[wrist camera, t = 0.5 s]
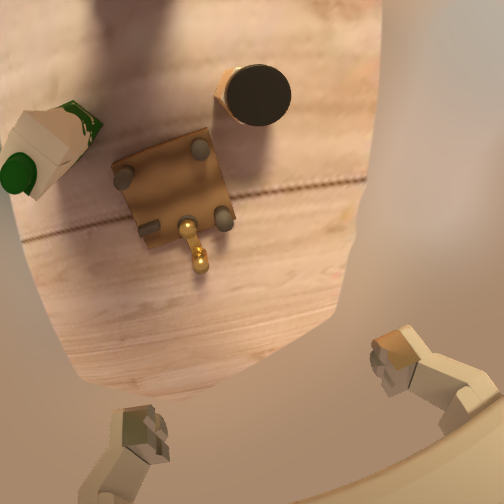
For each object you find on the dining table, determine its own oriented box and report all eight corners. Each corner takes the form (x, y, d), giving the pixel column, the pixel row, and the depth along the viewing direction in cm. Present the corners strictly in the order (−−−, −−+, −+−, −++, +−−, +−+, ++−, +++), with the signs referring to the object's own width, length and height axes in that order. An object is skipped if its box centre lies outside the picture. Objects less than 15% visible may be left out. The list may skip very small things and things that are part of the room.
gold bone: (176, 221, 51) (176, 232, 48) (192, 215, 51) (193, 226, 48) (194, 262, 56) (196, 275, 52) (209, 257, 56) (211, 270, 53)
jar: (217, 120, 47) (227, 131, 37) (210, 71, 42) (219, 68, 32) (272, 112, 48) (297, 123, 38) (267, 65, 43) (292, 62, 33)
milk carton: (43, 136, 41) (-20, 173, 24) (73, 91, 39) (14, 103, 22) (79, 165, 45) (32, 215, 28) (111, 122, 43) (71, 150, 26)
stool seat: (114, 162, 46) (104, 174, 40) (206, 127, 47) (210, 134, 41) (149, 242, 55) (147, 263, 49) (233, 212, 56) (240, 231, 50)
